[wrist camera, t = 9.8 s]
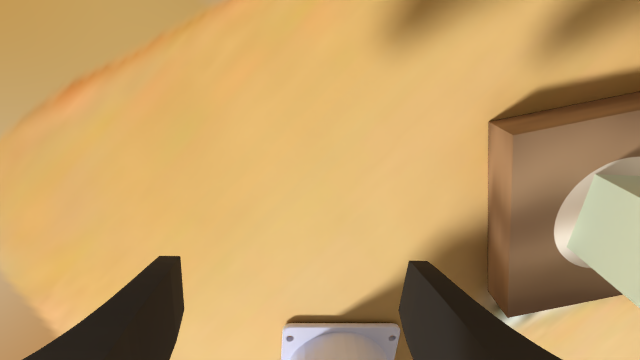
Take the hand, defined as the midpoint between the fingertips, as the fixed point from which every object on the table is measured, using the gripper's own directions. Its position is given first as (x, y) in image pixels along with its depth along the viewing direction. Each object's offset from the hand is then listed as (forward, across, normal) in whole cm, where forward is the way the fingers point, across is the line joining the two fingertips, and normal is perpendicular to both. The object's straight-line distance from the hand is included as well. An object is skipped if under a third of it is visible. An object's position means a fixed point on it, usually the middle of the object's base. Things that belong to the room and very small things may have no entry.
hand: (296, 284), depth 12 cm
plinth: (+10, -18, +1) cm, 21 cm away
